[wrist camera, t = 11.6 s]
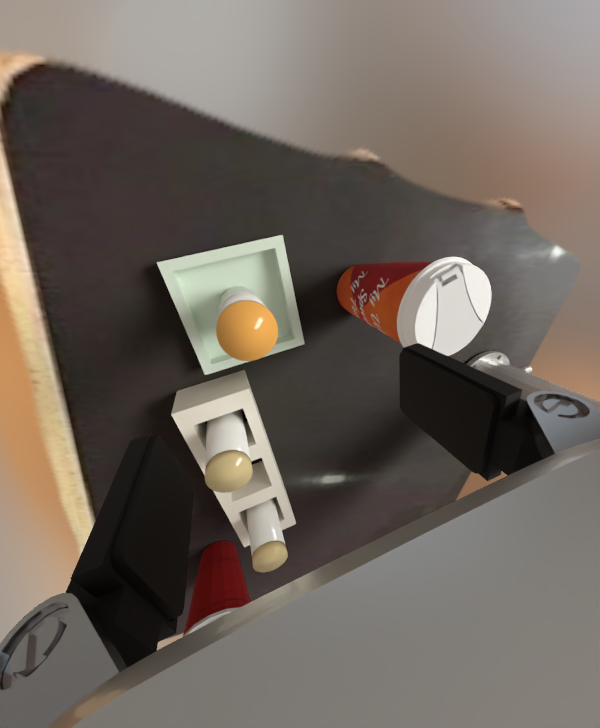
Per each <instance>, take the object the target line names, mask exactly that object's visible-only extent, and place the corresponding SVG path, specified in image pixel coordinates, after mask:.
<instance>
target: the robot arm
mask: <svg viewBox="0 0 600 728" xmlns="http://www.w3.org/2000/svg"><path fill="white" fill-rule="evenodd" d="M531 371H532V368H531V367H530V366H524V367H521V368H517V367H515V366H512V365H510V364H509V360H508V358H507V357H506V356H505V355H504V354H502V353H499V352H497V351H487V352H484V353H481V354H479V355H477V356H475V357H474V358H473V359H471V360H470V361H469V362H468V363H467V364H464V363H462V362H459V361H457V360H455V359H453V358H451V357H448V356H446V355H444V354H442V353H440V352H437V351H435V350H433V349H431V348H428V347H426V346H424V345H422V344H419V343H416V344H413V345H410V346H407V347H404V348H403V350H402V352H401V353H400V407H401V410H402V411H403V413H404V414H405V415H406V416H408V417H409V418H410V419H411V420H412V421H413V422H415V423H416V424H417V425H418V426H419V427H420V428H422V429H423V430H424V431H425V432H426V433H427V434H429V435H430V436H431V437H432V438H433V439H434V440H436V441H437V442H438V443H439V444H440V445H441V446H443V447H444V448H445V449H446V450H447V451H448V452H450V453H451V454H452V455H453V456H454V457H456V458H457V459H458V460H459V461H460V462H461V463H463V464H464V465H465V466H466V467H467V468H468V469H470V470H471V471H472V472H474V473H479V474H480V475H481V476H482V477H483V478H485V479H486V480H487V481H488V480H491V479H493V478H495V477H497V476H499V475H500V474H501V471H503V472H504V473H505V474H507V475H508V476H506V477H504V478H502V479H500V480H498V481H496V482H494V483H492V484H490V485H488V486H486V487H483V488H482V489H479V490H477V491H475V492H473V493H471V494H469V495H467V496H465V497H463V498H461V499H459V500H456V501H454V502H452V503H450V504H448V505H446V506H444V507H442V508H440V509H438V510H436V511H434V512H432V513H430V514H428V515H426V516H424V517H422V518H420V519H418V520H416V521H413V522H411V523H409V524H407V525H405V526H403V527H401V528H399V529H397V530H395V531H393V532H391V533H389V534H387V535H385V536H383V537H381V538H379V539H377V540H375V541H373V542H371V543H369V544H367V545H365V546H363V547H361V548H359V549H357V550H355V551H353V552H350V553H348V554H346V555H344V556H342V557H340V558H338V559H336V560H334V561H332V562H330V563H328V564H326V565H324V566H322V567H320V568H318V569H316V570H314V571H312V572H310V573H308V574H306V575H304V576H302V577H300V578H298V579H296V580H294V581H292V582H290V583H288V584H286V585H284V586H282V587H280V588H278V589H276V590H274V591H272V592H270V593H268V594H266V595H264V596H262V597H260V598H258V599H256V600H254V601H252V602H250V603H248V604H246V605H244V606H242V607H240V608H238V609H236V610H234V611H232V612H230V613H228V614H226V615H224V616H223V617H221V618H219V619H217V620H215V621H213V622H211V623H209V624H207V625H205V626H203V627H201V628H199V629H198V630H196V631H194V632H192V633H190V634H188V635H186V636H184V637H182V638H180V639H178V640H176V641H175V642H173V643H171V644H169V645H167V646H165V647H163V648H161V649H159V650H157V644H158V642H159V641H161V640H163V639H165V638H167V637H169V636H171V635H173V634H175V633H176V627H177V617H178V616H180V615H182V613H183V610H184V601H185V589H186V578H187V566H188V554H189V542H190V530H191V518H192V506H193V491H192V488H191V486H190V484H189V482H188V481H187V479H186V477H185V476H184V474H183V472H182V471H181V469H180V467H179V466H178V464H177V462H176V461H175V459H174V457H173V456H172V454H171V452H170V451H169V449H168V447H167V446H166V444H165V442H164V441H163V439H162V438H161V437H160V436H154V435H153V434H148V435H145V436H142V437H139V438H136V439H133V440H131V442H130V444H129V446H128V448H127V451H126V453H125V455H124V458H123V460H122V462H121V465H120V467H119V469H118V471H117V474H116V476H115V478H114V481H113V483H112V485H111V487H110V490H109V492H108V494H107V497H106V499H105V501H104V503H103V506H102V508H101V510H100V513H99V515H98V517H97V519H96V522H95V524H94V526H93V529H92V531H91V533H90V536H89V538H88V540H87V542H86V545H85V547H84V549H83V552H82V554H81V556H80V558H79V561H78V563H77V565H76V568H75V570H74V572H73V574H72V577H71V582H70V584H69V586H68V589H67V591H66V593H62V594H59V595H56V596H53V597H51V598H49V599H48V600H46V601H44V602H43V603H41V604H39V605H38V606H37V607H35V608H34V609H33V610H32V611H30V612H29V613H28V614H27V615H26V616H24V617H23V619H22V620H21V621H19V622H18V624H17V625H16V626H15V627H14V628H13V629H12V630H11V631H10V632H9V633H8V634H7V636H6V637H5V639H4V640H3V641H2V642H1V644H0V728H600V401H597V400H595V399H592V398H589V397H587V396H584V395H582V394H579V393H577V392H574V391H571V390H569V389H566V388H564V387H561V386H559V385H556V384H554V383H551V382H549V381H546V380H543V379H541V378H538V377H536V376H533V375H531V374H528V373H530V372H531Z"/></svg>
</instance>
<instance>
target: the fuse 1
mask: <svg viewBox="0 0 600 728" xmlns="http://www.w3.org/2000/svg"><path fill="white" fill-rule="evenodd" d="M252 473H253V469H252V463H251V458H250V452H249V447H248V441H247V436H246V430H245V425H244V419H243V414H242V409H240V410H237V411H234V412H231V413H228V414H225V415H222V416H219V417H217V418H214V419H211V420H208V421H207V434H206V463H205V482H206V484H207V486H208V487H209V488H210V489H212V490H213V491H216V492H222V493H226V492H232V491H235V490H238V489H240V488H242V487H243V486H244V485H246V484H247V483H248V482H249V480H250V479H251V477H252Z"/></svg>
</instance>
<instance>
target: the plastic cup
mask: <svg viewBox="0 0 600 728" xmlns="http://www.w3.org/2000/svg"><path fill="white" fill-rule="evenodd" d="M250 602H251V599H250V598H249V594H248V590H247V586H246V582H245V579H244V575H243V571H242V567H241V564H240V561H239V557H238V553H237V549H236V547H235V545H234V544H233V543H232V542H229V541H219V542H215V543H213V544H211V545H209V546H208V547H207V548H206V549H205V550H204V551H203V553H202V556H201V559H200V563H199V569H198V574H197V577H196V581H195V586H194V591H193V596H192V601H191V606H190V611H189V616H188V620H187V623H186V628H185V631H184V635H183V637H184V636H186V635H188V634H190V633H192V632H194V631H196V630H198V629H199V628H201V627H203V626H205V625H207V624H209V623H211V622H213V621H215V620H217V619H219V618H221V617H223V616H224V615H226V614H228V613H230V612H232V611H234V610H236V609H238V608H240V607H242V606H244V605H246V604H248V603H250Z"/></svg>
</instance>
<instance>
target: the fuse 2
mask: <svg viewBox="0 0 600 728" xmlns="http://www.w3.org/2000/svg"><path fill="white" fill-rule="evenodd" d="M246 515H247V523H248V531H249V539H250V547H251V554H252V562H253V568H254V570H255V571H257V572H269V571H272V570H274V569H276V568H278V567H280V566H281V565H282V564H283V563H284V562H285V561H286V559H287V557H288V553H287V549H286V545H285V541H284V537H283V533H282V529H281V525H280V521H279V517H278V513H277V509H276V505H275V501H274V498H272V499H269V500H267V501H265V502H262V503H260V504H257V505H255V506H253V507H250V508H248V509H246Z"/></svg>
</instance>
